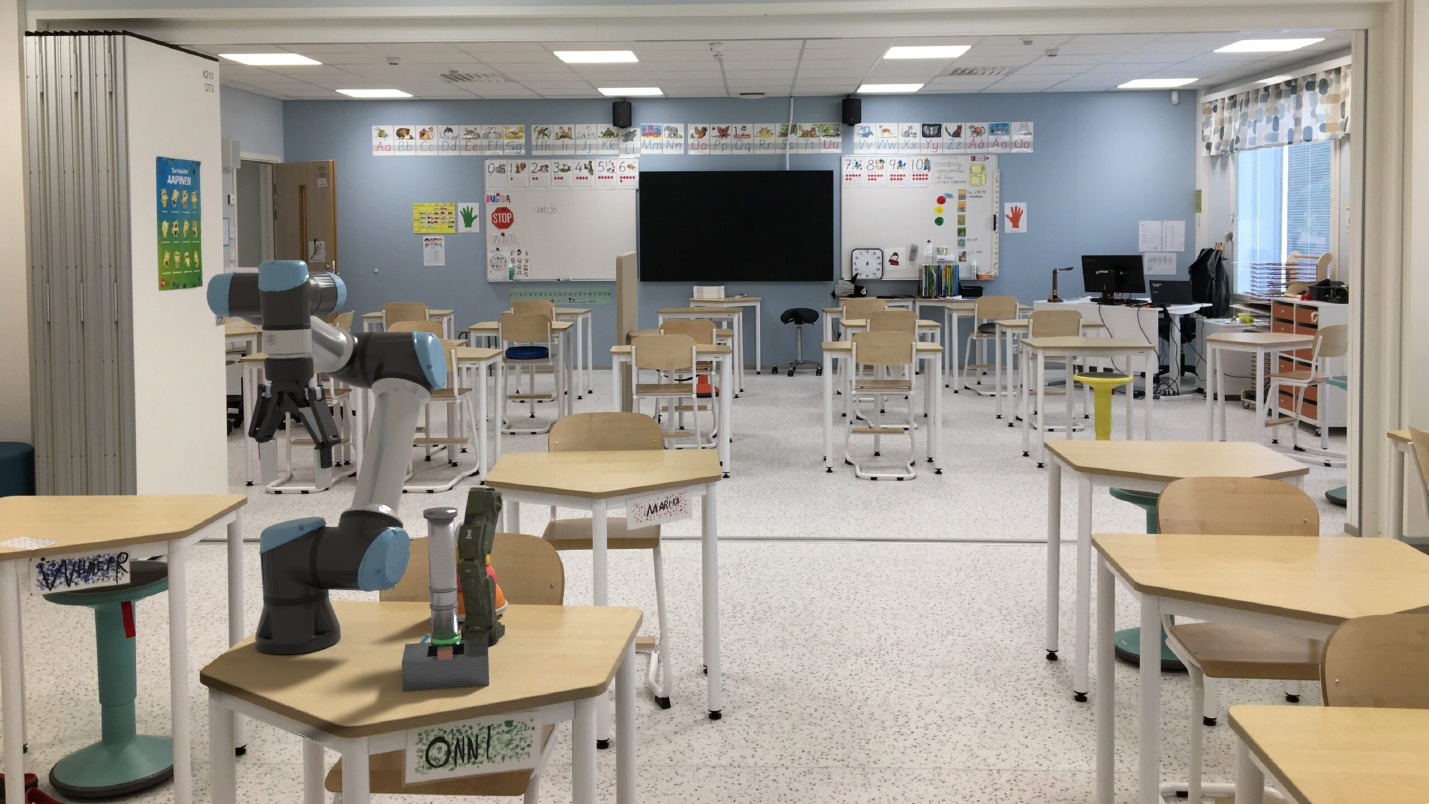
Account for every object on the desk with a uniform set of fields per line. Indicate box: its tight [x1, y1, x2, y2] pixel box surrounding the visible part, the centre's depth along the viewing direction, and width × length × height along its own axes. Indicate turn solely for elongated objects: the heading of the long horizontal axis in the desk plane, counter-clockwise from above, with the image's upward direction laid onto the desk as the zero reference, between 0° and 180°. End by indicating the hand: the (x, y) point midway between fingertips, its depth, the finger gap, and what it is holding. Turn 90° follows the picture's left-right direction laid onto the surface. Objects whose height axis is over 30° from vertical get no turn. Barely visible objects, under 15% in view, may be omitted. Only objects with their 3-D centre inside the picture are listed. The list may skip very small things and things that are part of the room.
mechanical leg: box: [456, 486, 506, 648], centre depth 217 cm, size 14×7×30 cm, turn 168°
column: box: [422, 506, 461, 647], centre depth 195 cm, size 6×6×23 cm
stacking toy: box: [455, 520, 509, 623], centre depth 233 cm, size 14×14×20 cm
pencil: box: [419, 631, 432, 643], centre depth 213 cm, size 1×17×1 cm, turn 179°
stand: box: [401, 638, 490, 693], centre depth 197 cm, size 10×14×6 cm
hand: (296, 484), depth 190 cm, fingers open, 13 cm apart
